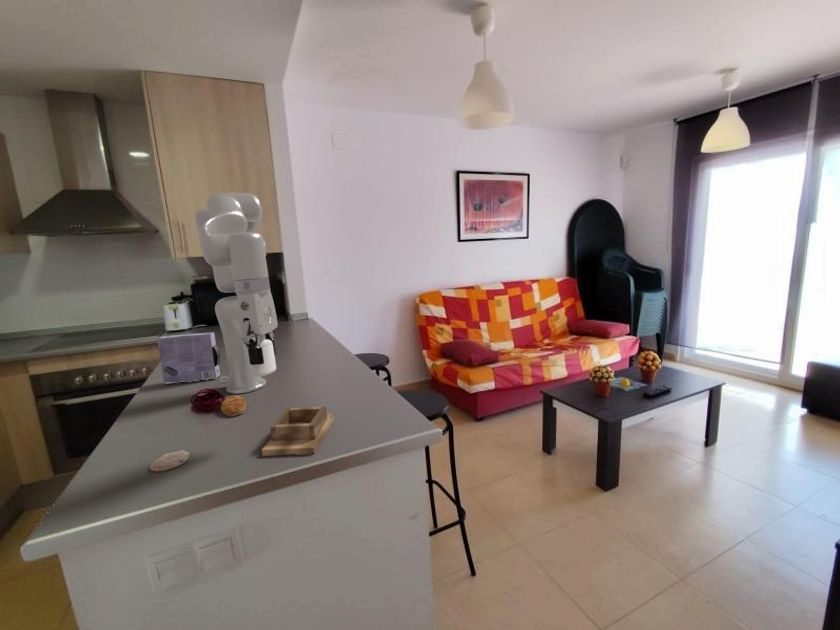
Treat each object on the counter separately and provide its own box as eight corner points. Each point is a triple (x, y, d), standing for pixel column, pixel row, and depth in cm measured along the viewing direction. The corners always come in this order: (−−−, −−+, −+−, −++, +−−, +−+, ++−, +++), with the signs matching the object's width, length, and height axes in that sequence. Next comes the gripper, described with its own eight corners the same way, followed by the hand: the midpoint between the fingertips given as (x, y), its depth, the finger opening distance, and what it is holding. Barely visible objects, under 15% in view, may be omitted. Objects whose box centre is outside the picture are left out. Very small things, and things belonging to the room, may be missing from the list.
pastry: (250, 413, 111) (248, 401, 111) (225, 420, 108) (222, 408, 107) (244, 403, 119) (242, 392, 118) (220, 410, 115) (218, 398, 115)
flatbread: (178, 471, 84) (177, 467, 84) (142, 474, 83) (141, 470, 83) (196, 451, 92) (196, 447, 92) (164, 454, 91) (163, 450, 91)
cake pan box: (224, 375, 148) (216, 330, 145) (219, 379, 143) (211, 333, 140) (170, 381, 145) (161, 335, 142) (163, 385, 140) (154, 339, 137)
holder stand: (262, 455, 87) (259, 435, 86) (291, 419, 105) (289, 402, 104) (314, 453, 87) (311, 433, 86) (334, 417, 104) (332, 400, 103)
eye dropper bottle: (279, 372, 94) (272, 324, 92) (255, 378, 91) (247, 329, 89) (274, 368, 98) (268, 322, 95) (251, 374, 94) (243, 326, 92)
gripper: (249, 289, 82) (262, 371, 85) (283, 281, 98) (292, 349, 102) (216, 292, 82) (229, 372, 86) (254, 283, 99) (264, 350, 102)
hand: (263, 359), depth 94 cm, fingers closed on eye dropper bottle, 5 cm apart
